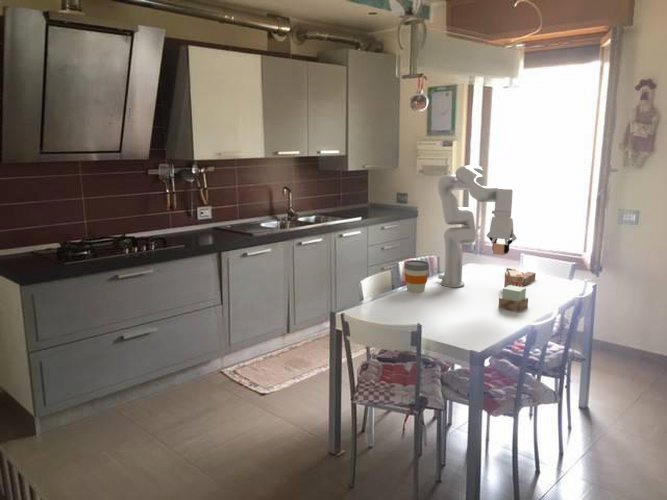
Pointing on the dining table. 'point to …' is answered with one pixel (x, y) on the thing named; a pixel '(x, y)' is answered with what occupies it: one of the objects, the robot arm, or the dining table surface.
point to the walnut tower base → (513, 304)
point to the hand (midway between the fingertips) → (500, 251)
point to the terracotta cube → (499, 248)
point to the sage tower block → (514, 293)
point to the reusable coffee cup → (416, 275)
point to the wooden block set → (526, 276)
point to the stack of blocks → (513, 278)
